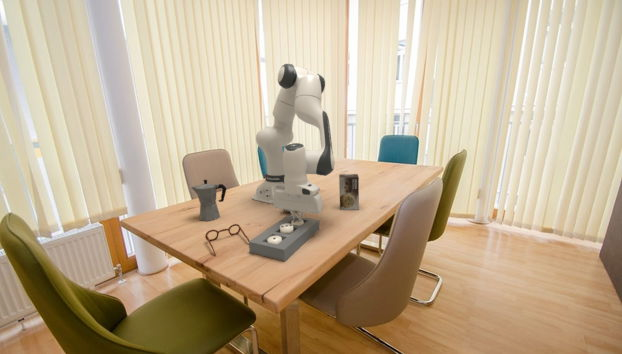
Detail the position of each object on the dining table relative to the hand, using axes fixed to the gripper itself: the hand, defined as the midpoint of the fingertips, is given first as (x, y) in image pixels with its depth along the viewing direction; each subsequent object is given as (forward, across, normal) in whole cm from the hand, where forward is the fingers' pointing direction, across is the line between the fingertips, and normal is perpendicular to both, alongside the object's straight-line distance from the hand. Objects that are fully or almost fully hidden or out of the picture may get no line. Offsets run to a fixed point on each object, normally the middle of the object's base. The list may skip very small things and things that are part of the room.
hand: (297, 220), depth 105 cm
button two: (+4, 0, 0) cm, 4 cm away
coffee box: (+5, +10, +33) cm, 35 cm away
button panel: (+4, 0, -8) cm, 9 cm away
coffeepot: (+4, -44, -2) cm, 44 cm away
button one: (+4, 0, -16) cm, 17 cm away
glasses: (+5, -19, -19) cm, 27 cm away
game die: (+5, -14, +17) cm, 22 cm away
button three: (+2, 0, -8) cm, 8 cm away
